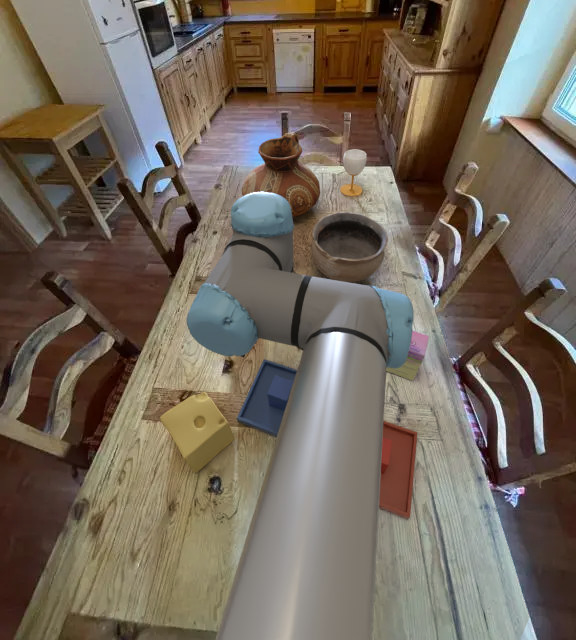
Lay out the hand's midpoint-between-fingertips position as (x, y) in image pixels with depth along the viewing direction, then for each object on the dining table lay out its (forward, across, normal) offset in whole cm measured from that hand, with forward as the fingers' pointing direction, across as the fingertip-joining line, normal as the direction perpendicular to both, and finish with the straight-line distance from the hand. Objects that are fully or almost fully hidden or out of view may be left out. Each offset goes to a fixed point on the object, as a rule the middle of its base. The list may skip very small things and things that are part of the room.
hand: (276, 361), depth 66 cm
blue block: (+18, 0, -1) cm, 18 cm away
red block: (+18, -22, +4) cm, 29 cm away
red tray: (+19, -22, +4) cm, 29 cm away
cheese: (+19, +13, +12) cm, 26 cm away
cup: (+18, +4, -92) cm, 93 cm away
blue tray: (+19, 0, 0) cm, 19 cm away
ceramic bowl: (+18, -4, -46) cm, 50 cm away
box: (+19, -23, -18) cm, 35 cm away
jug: (+18, +28, -74) cm, 81 cm away
